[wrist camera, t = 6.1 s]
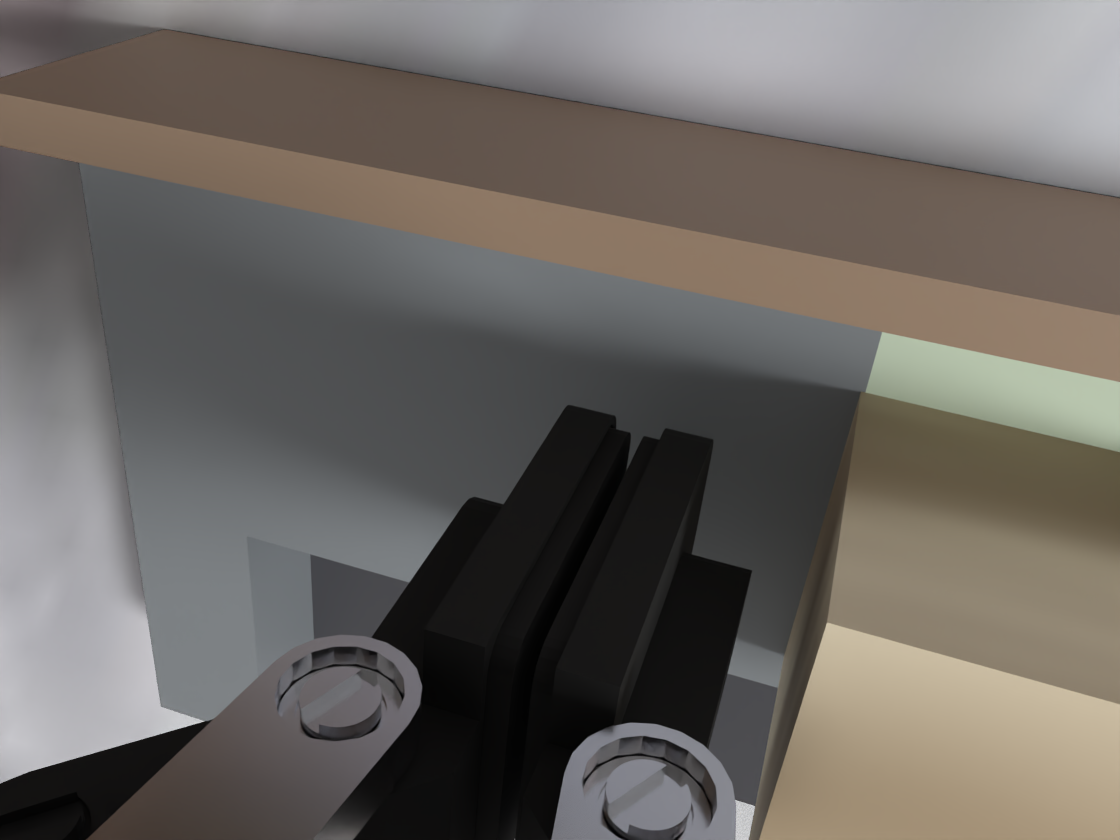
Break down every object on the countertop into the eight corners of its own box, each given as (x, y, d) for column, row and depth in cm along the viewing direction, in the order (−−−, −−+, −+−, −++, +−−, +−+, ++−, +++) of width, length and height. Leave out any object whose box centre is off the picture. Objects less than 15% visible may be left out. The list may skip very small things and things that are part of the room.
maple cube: (861, 390, 12) (827, 622, 8) (1253, 483, 11) (1385, 778, 8) (783, 655, 14) (732, 922, 11) (1108, 748, 13) (1162, 1069, 10)
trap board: (163, 29, 14) (-32, 86, 12) (1401, 248, 11) (1555, 402, 8) (225, 632, 20) (105, 771, 17) (1055, 888, 17) (1076, 1110, 14)
